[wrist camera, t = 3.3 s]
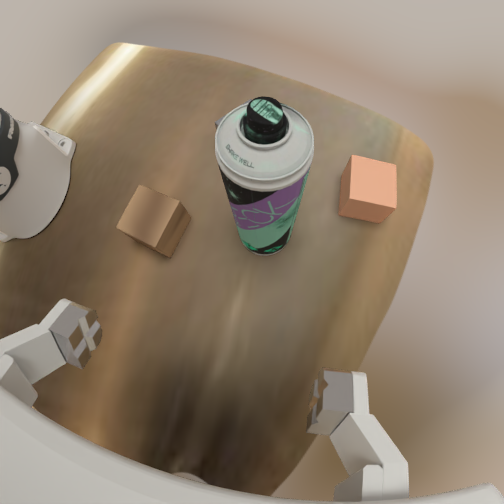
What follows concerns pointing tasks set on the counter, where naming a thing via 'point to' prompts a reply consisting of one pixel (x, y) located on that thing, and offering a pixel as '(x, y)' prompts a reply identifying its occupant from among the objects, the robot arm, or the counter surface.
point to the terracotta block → (368, 189)
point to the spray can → (264, 170)
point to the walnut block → (154, 220)
